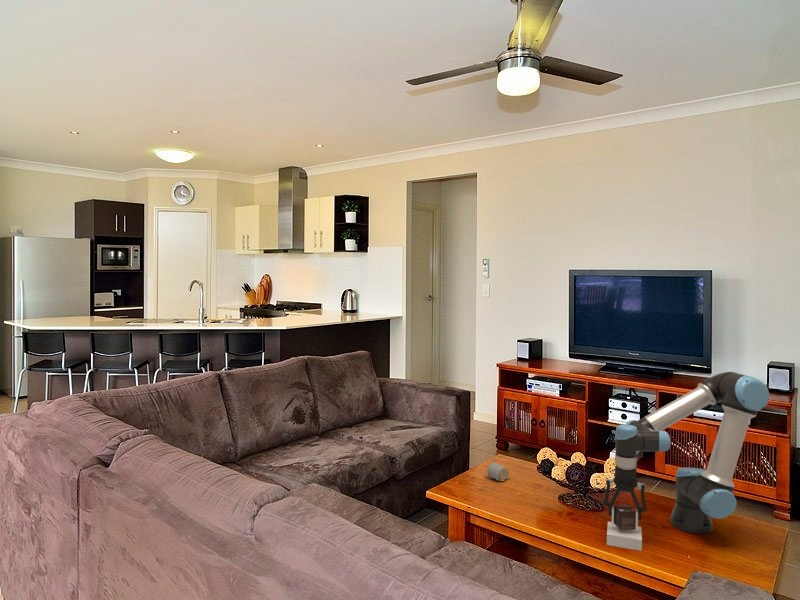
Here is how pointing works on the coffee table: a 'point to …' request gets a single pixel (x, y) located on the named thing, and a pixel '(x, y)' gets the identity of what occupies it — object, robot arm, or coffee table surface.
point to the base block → (624, 537)
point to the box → (624, 517)
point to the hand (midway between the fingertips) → (624, 526)
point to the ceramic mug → (497, 472)
